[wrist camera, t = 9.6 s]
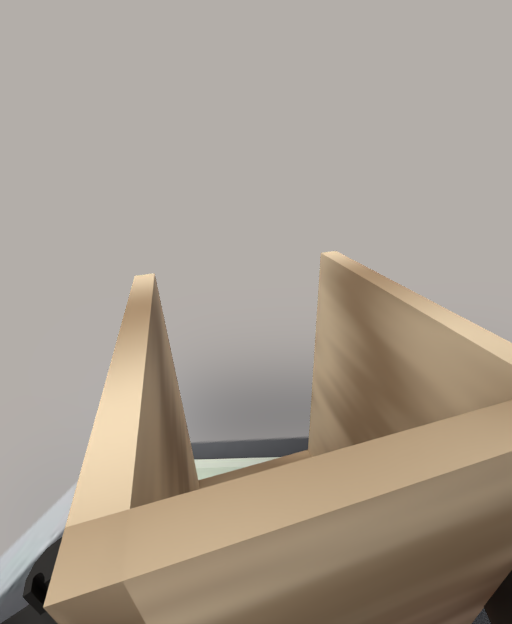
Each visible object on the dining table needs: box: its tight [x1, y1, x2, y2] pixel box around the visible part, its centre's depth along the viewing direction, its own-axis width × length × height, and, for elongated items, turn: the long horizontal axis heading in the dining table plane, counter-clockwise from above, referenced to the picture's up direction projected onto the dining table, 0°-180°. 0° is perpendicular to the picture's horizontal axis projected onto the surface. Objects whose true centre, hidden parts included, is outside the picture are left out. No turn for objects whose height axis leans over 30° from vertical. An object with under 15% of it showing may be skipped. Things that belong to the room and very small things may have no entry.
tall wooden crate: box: [43, 251, 512, 624], centre depth 9 cm, size 8×7×12 cm
